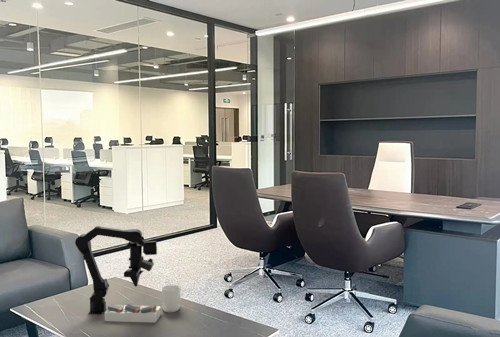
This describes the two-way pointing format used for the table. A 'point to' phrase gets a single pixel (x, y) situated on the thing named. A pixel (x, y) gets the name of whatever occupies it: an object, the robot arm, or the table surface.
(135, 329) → the table surface
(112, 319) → the power strip
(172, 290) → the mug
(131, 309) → the rocker
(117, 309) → the rocker
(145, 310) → the rocker
